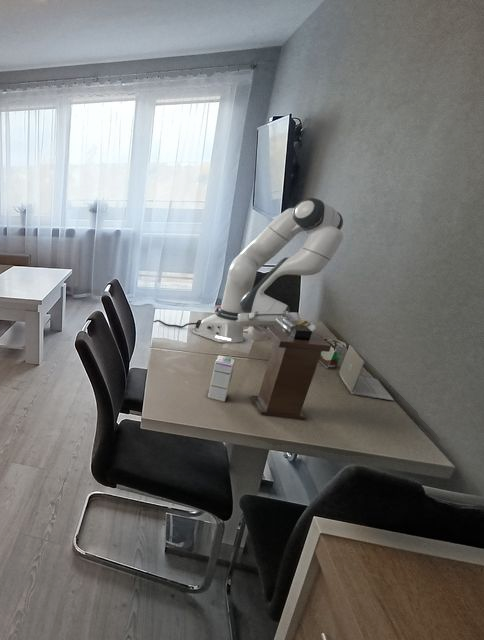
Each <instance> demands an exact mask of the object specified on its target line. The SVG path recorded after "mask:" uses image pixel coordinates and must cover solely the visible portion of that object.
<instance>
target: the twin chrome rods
mask: <svg viewBox="0 0 484 640" xmlns="http://www.w3.org/2000/svg"><path fill="white" fill-rule="evenodd" d="M276 321H277V322H278V323H279V324H280V325H281V326H282V327H283V328H284V329H286V330H287V331H288V332H289V335H290V336H291V337H292V338H293V339H297V340H310V337H311V334H312V331H311V330H310V329H308V328H307V327H298V326H294V325H293V324H292V323H291V322H289V321H288V320H287V319H283V321H284V322H285V323H286V324H287V325H288V326H289V327H290V328H289V327H288V326H287V325H286V324H285V323H284V322H283V321H281V320H280V319H279V318H276Z"/></svg>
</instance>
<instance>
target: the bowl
mask: <svg viewBox="0 0 484 640" xmlns="http://www.w3.org/2000/svg"><path fill="white" fill-rule="evenodd" d="M296 326H298V327H307V328H308V329H310V330H311V331H312V332H314V333H315V332H316V329H317V327H316V325H315V324H314V323H312V322H311V321H308V320H307V319H304V318H301V317H299V323H298V324H297V325H296Z"/></svg>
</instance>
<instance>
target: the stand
mask: <svg viewBox="0 0 484 640" xmlns="http://www.w3.org/2000/svg"><path fill="white" fill-rule="evenodd" d="M266 334H267V335H268V336H269V339H270V340H271V341H272V342H273V346H272V349H271V351H270V355H269V359H268V361H267V365H266V368H265V372H264V376H263V380H262V382H261V385H260V389H259V393H258V395H251V397H250V400H251V402H252V403H253V404H254V406H255V407H256V409H257V411H258V412H259V414H260V415H262V416H269V417H277V418H285V419H292V420H293V419H294V420H301V421H305V419H306V416H305V414H304V413H303V412H302V410H303V407H304V404H305V401H306V398H307V394H308V392H309V389H310V388H311V387H310V386H311V384H312V381H313V378H314V375H315V372H316V369H317V366H318V364H319V362H320V361H319V358H320V355H321V352H322V351H325V352H329V351H330V348H331V345H330V344H328V343H327V342H326V341H324V340H323V337H321V336H320V335H318V334H317V333H316V332H315V331H314V332H312V334H311V337H310V340H297V339H293V338H292V337H291V336H290V335H289V332H288V331H287V330H284V329H272V328H267V331H266Z"/></svg>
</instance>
